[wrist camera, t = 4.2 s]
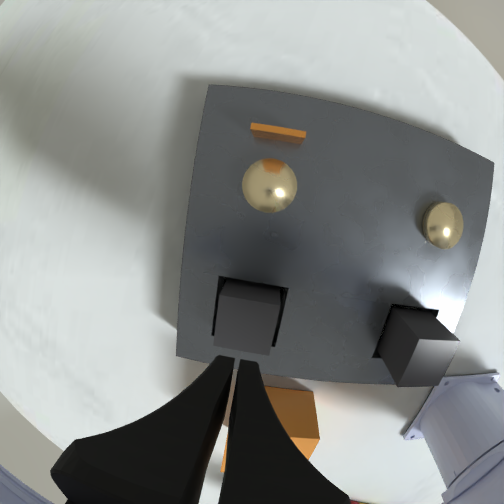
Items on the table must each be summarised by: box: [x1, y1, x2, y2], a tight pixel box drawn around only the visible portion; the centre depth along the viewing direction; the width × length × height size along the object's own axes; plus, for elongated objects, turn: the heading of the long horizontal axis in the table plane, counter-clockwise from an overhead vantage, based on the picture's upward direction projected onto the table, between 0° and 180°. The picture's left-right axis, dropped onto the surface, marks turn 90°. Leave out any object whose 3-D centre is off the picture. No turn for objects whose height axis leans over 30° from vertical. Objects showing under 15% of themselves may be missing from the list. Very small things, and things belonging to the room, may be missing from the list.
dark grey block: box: [213, 277, 280, 356], centre depth 16 cm, size 3×3×4 cm
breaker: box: [377, 307, 460, 387], centre depth 14 cm, size 3×3×4 cm
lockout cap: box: [221, 386, 320, 472], centre depth 18 cm, size 6×6×5 cm
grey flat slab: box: [176, 85, 494, 384], centre depth 15 cm, size 18×16×4 cm
